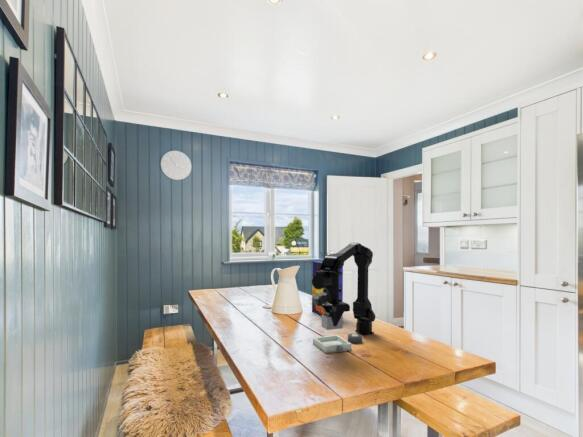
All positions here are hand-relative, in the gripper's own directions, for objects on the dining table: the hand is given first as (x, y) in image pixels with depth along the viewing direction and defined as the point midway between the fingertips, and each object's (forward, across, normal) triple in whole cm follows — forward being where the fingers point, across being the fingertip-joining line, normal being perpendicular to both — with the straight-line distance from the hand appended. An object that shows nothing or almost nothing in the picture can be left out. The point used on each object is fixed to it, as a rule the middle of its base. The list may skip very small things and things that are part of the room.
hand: (332, 324), depth 134 cm
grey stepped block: (+1, 0, 0) cm, 1 cm away
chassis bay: (+9, 0, 0) cm, 9 cm away
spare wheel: (+9, -3, +13) cm, 16 cm away
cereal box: (+10, -45, +21) cm, 51 cm away
